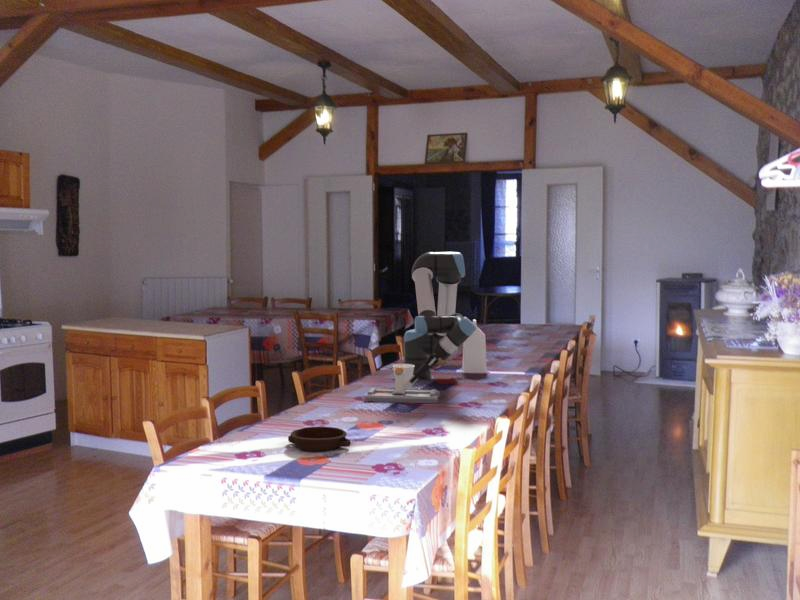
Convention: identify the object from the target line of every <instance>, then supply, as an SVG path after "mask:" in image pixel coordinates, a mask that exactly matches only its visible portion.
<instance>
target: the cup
mask: <svg viewBox="0 0 800 600" xmlns="http://www.w3.org/2000/svg"><path fill="white" fill-rule="evenodd" d="M398 366H402V367H403V368H404V384H405V383H406V382H407V381H408V380H409V379H410V378H411V377H412V376H413V371H414V367H415V366H414V365H412V364H403V363H396V364H393V365H392V368H393V375H394V376H395V369H396V368H397V367H398ZM411 389H412V386H411V387H410V388H409V389H408V390H411ZM404 390H407V389H406V388H405V387H404Z"/></svg>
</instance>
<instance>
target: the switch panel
mask: <svg viewBox="0 0 800 600" xmlns="http://www.w3.org/2000/svg"><path fill="white" fill-rule="evenodd" d="M394 390H395V389H377V387H370V388H369V390H368V391H367V394H366V393H365V394H364V402H368V401H376V402H375V403H377V402H379V403H408V404H409V403H411V404H413V403H415V404H437V403H438V401H439V399H438V398H440V390H437V389H436V388H435V389H433V388H432V389H431V390H413V389H412V390H411V389H410V390H406V394H405V395H392V393H393V392H394Z"/></svg>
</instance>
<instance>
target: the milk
mask: <svg viewBox="0 0 800 600" xmlns="http://www.w3.org/2000/svg"><path fill="white" fill-rule="evenodd" d="M472 323H473V324H474V325H475V326H476V330H475V331H474V333H473V334H472V335H471V336H470V337H469V338H468V339H467V340H466V341H465V342H464V343H462V362H461V363H462V372H463V374H487V373H488V371H487V343H486V340H487V339H486V334H485V333H484V331H482V330H481V329H480V327H478V326H477V320H476V319H472Z"/></svg>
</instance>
